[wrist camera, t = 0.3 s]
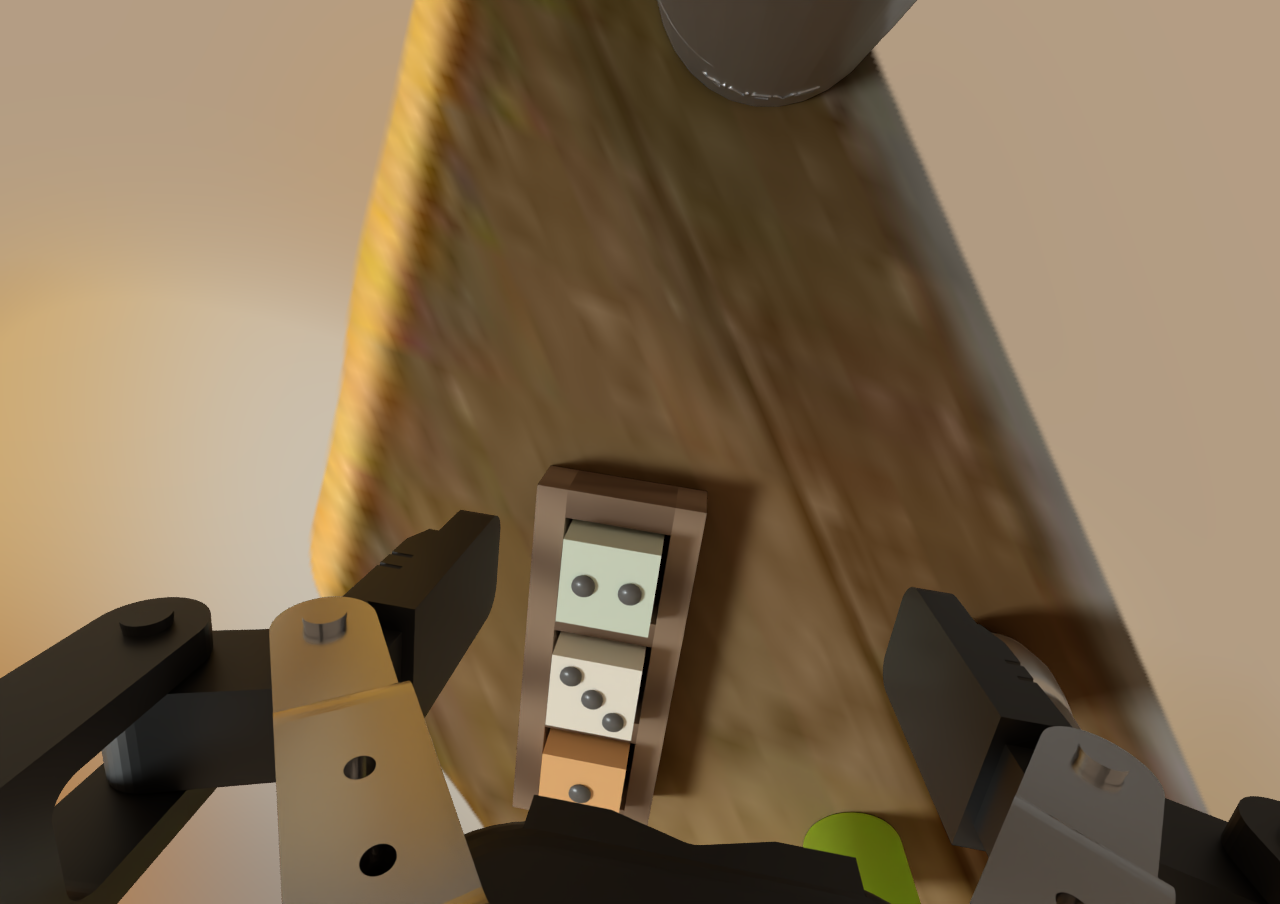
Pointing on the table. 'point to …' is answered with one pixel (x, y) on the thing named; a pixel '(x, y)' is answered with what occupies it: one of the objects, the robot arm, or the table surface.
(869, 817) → the soap dispenser
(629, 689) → the three dot button
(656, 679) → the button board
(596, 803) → the one dot button
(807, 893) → the robot arm
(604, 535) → the two dot button
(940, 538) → the table surface
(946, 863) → the table surface
